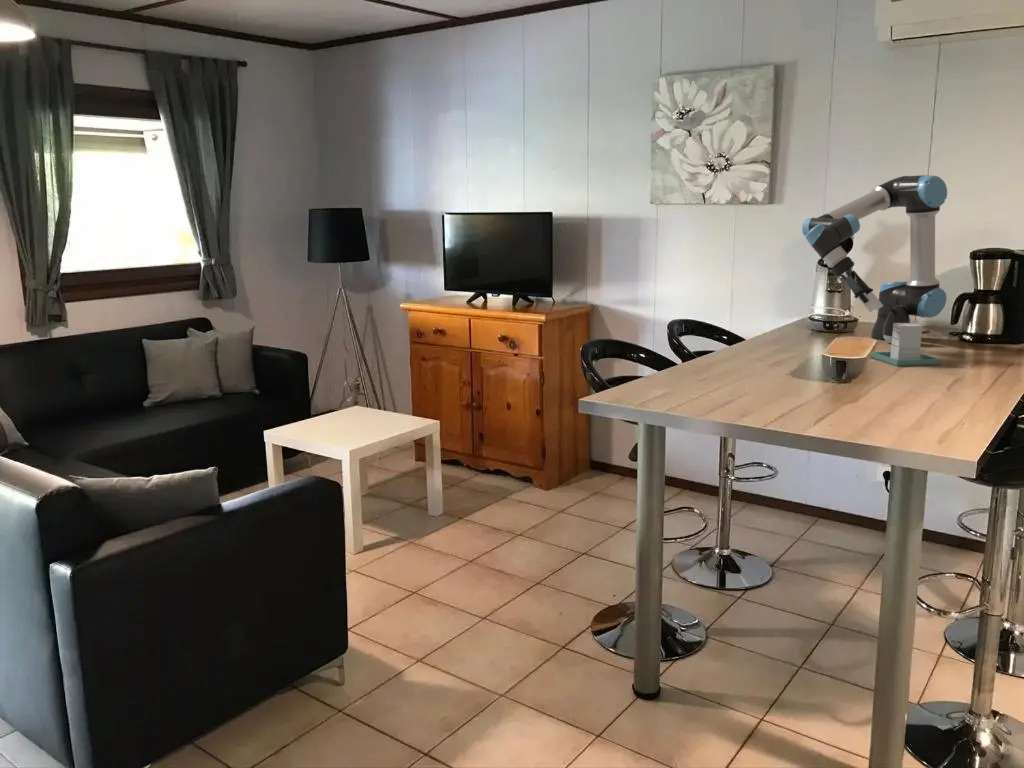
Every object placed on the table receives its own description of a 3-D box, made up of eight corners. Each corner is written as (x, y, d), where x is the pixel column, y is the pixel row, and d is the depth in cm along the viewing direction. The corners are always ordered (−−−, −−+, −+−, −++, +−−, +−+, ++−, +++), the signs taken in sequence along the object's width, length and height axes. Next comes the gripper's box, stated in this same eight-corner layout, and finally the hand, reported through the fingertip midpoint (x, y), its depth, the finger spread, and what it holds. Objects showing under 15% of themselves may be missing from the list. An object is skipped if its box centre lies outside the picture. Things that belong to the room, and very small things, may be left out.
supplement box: (911, 358, 295) (914, 322, 292) (919, 362, 288) (923, 325, 285) (889, 357, 295) (892, 322, 293) (897, 361, 288) (900, 325, 285)
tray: (870, 357, 298) (871, 352, 298) (912, 356, 300) (912, 351, 300) (896, 366, 283) (897, 360, 282) (940, 365, 285) (941, 359, 284)
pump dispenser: (875, 342, 331) (879, 304, 328) (894, 340, 336) (897, 303, 332) (896, 346, 322) (900, 307, 319) (915, 344, 327) (919, 305, 323)
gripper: (837, 268, 313) (873, 313, 308) (822, 269, 292) (861, 317, 287) (854, 255, 309) (891, 301, 304) (840, 255, 288) (880, 303, 283)
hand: (876, 309), depth 295 cm, fingers open, 13 cm apart
